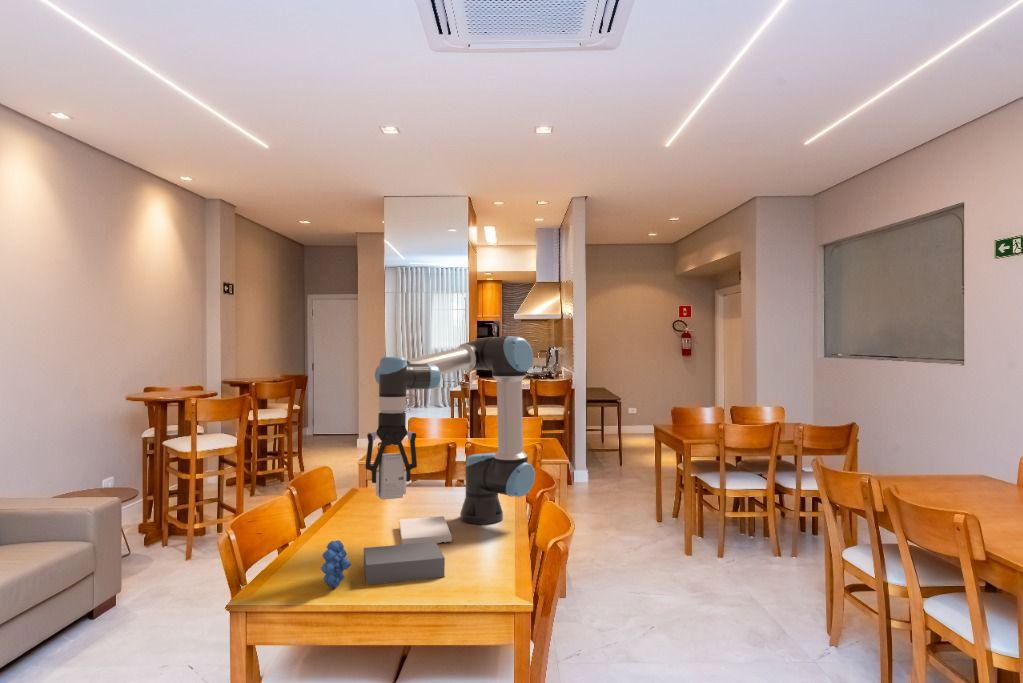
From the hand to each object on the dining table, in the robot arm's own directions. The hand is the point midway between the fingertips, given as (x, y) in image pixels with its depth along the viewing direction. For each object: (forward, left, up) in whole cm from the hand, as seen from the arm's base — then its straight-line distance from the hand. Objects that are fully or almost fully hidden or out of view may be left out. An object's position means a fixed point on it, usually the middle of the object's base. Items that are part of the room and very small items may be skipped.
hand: (390, 493), depth 169 cm
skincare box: (0, 0, -1) cm, 1 cm away
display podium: (-3, +7, -19) cm, 21 cm away
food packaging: (-13, -24, -20) cm, 34 cm away
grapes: (+14, +14, -20) cm, 28 cm away
